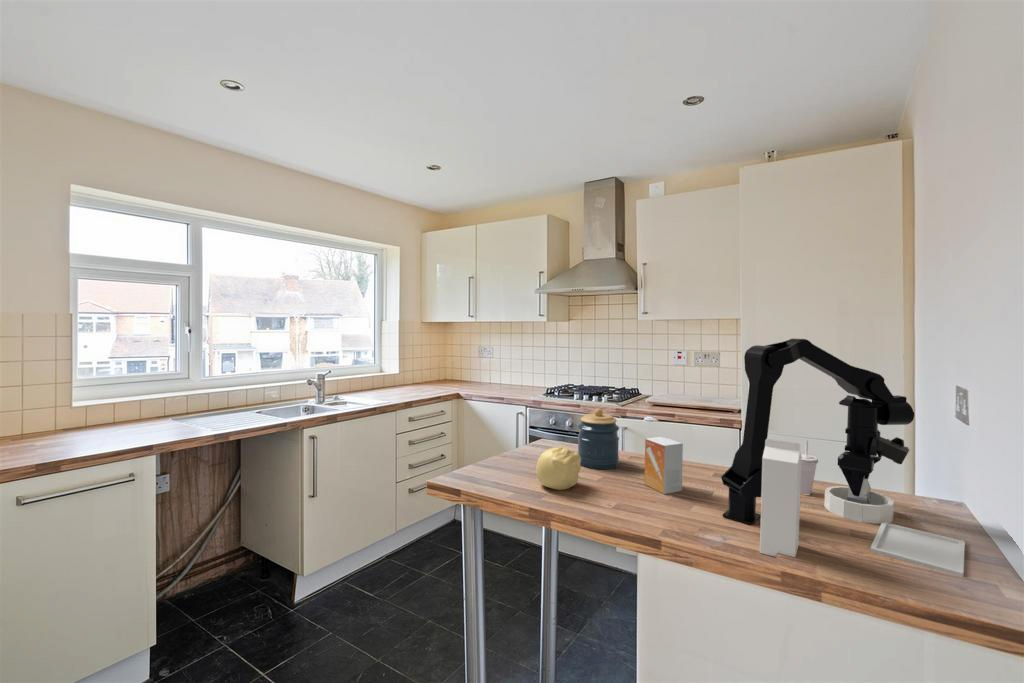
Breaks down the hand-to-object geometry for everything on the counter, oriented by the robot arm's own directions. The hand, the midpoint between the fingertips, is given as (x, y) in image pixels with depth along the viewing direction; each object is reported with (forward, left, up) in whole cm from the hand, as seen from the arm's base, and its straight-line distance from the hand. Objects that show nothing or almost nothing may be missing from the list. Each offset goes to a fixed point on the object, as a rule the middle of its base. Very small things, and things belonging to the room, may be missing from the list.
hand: (859, 490), depth 111 cm
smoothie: (+6, +13, -6) cm, 15 cm away
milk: (-34, +8, -6) cm, 35 cm away
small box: (-17, +41, -6) cm, 45 cm away
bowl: (-2, 0, -6) cm, 6 cm away
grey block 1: (-1, 0, -2) cm, 2 cm away
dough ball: (-36, +62, -6) cm, 72 cm away
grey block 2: (-4, 0, -5) cm, 6 cm away
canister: (-11, +66, -6) cm, 67 cm away
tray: (-15, -12, -6) cm, 20 cm away
